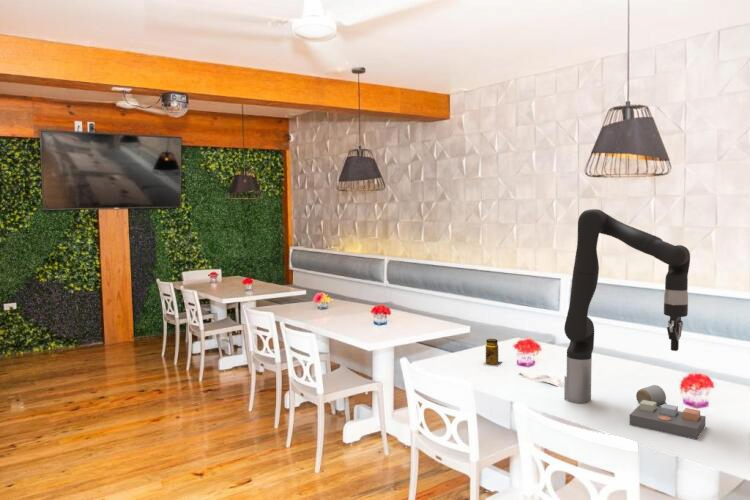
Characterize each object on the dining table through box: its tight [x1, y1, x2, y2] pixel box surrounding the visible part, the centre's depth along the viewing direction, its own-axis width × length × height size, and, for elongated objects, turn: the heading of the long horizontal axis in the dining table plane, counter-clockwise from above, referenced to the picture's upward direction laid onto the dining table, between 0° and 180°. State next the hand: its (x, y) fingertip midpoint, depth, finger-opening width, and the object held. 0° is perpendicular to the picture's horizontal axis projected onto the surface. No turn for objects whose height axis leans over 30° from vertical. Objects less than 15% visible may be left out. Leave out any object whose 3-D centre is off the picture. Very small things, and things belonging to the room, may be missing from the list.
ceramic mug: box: [635, 384, 668, 407], centre depth 221 cm, size 11×8×8 cm
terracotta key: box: [682, 407, 701, 422], centre depth 200 cm, size 4×4×3 cm
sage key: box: [638, 400, 656, 413], centre depth 209 cm, size 4×4×3 cm
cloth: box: [518, 372, 565, 387], centre depth 257 cm, size 26×14×2 cm, turn 28°
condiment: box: [483, 338, 503, 367], centre depth 284 cm, size 7×8×12 cm
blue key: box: [660, 403, 679, 417], centre depth 205 cm, size 4×4×3 cm
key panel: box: [629, 405, 706, 440], centre depth 203 cm, size 21×14×4 cm, turn 51°
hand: (674, 350), depth 208 cm, fingers closed
